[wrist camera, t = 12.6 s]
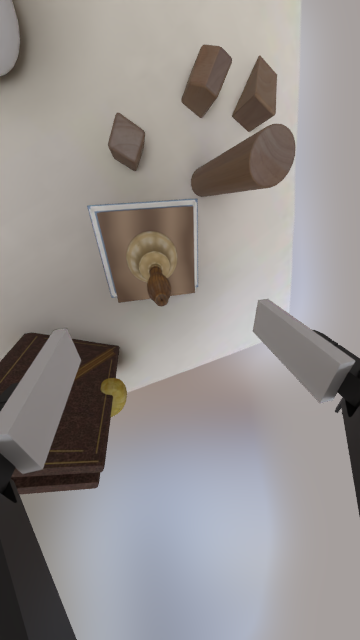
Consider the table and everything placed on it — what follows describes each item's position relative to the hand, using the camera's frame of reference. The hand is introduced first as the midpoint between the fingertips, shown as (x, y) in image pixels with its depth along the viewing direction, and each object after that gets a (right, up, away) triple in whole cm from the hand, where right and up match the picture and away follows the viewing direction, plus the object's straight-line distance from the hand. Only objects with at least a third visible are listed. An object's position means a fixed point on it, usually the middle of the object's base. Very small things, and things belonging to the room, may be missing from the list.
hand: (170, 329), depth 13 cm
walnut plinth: (-5, +14, +23) cm, 27 cm away
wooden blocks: (+2, +30, +15) cm, 34 cm away
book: (-22, -6, +31) cm, 38 cm away
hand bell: (-4, +11, +18) cm, 21 cm away
